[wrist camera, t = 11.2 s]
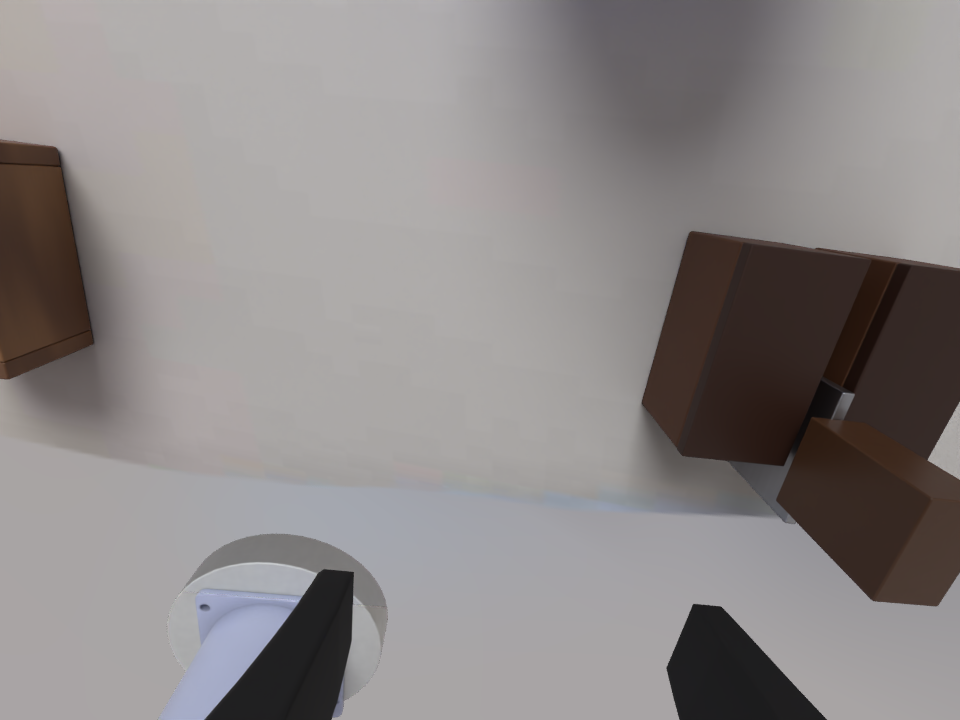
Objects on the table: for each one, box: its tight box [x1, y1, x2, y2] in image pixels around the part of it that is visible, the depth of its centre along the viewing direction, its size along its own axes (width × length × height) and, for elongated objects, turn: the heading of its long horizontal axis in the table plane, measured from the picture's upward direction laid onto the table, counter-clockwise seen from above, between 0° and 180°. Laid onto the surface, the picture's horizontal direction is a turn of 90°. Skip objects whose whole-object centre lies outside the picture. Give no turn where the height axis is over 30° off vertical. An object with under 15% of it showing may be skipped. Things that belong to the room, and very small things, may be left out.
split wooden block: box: [642, 231, 960, 466], centre depth 16 cm, size 7×8×4 cm
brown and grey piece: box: [728, 376, 960, 606], centre depth 15 cm, size 5×2×8 cm, turn 173°
